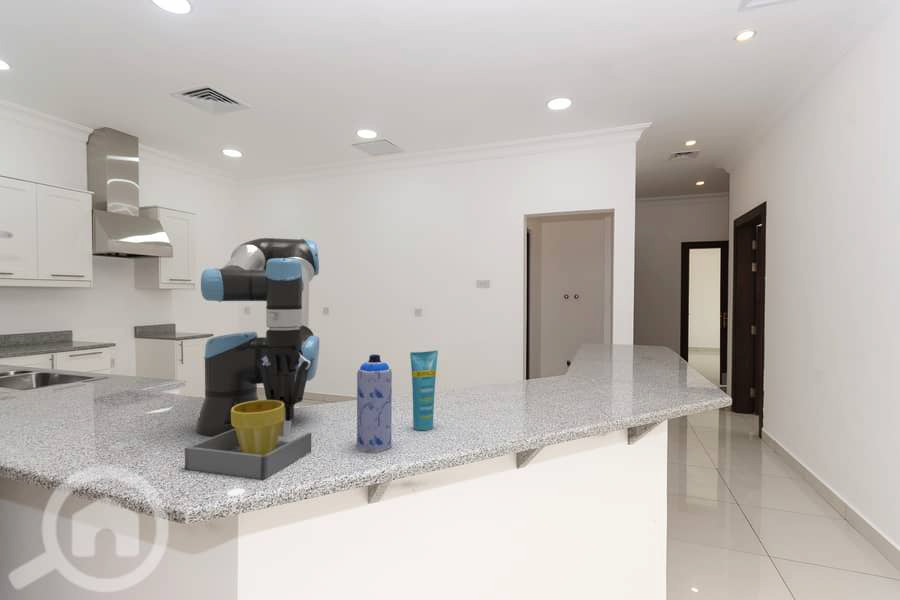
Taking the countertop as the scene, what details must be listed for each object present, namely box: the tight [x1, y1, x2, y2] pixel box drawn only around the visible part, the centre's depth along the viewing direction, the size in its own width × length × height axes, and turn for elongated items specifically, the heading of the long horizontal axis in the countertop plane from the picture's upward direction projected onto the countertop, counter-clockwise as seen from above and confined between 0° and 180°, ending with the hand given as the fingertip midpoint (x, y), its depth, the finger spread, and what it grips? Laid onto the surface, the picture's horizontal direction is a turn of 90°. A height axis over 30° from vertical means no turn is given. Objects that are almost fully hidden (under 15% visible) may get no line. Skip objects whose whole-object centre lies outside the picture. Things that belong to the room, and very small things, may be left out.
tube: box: [409, 350, 439, 431], centre depth 114 cm, size 7×5×19 cm, turn 123°
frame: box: [184, 428, 312, 481], centre depth 91 cm, size 18×15×4 cm
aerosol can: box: [355, 354, 393, 453], centre depth 100 cm, size 8×8×20 cm
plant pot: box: [231, 399, 285, 455], centre depth 95 cm, size 10×10×10 cm
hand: (284, 434), depth 101 cm, fingers closed
